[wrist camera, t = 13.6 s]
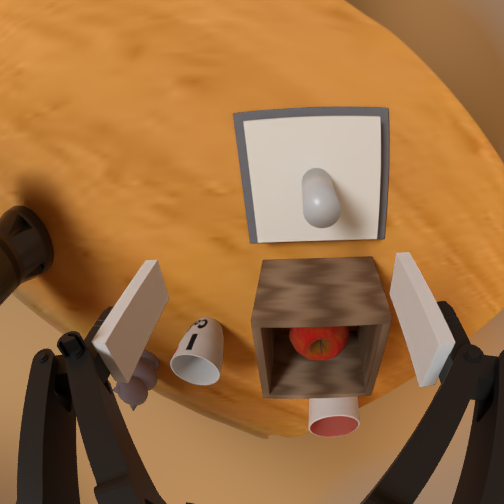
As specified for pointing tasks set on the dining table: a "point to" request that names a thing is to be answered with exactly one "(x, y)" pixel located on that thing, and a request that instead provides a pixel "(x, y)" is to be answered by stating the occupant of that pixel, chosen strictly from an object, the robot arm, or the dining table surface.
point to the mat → (305, 112)
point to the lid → (315, 177)
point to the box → (319, 315)
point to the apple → (319, 341)
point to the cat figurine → (139, 381)
